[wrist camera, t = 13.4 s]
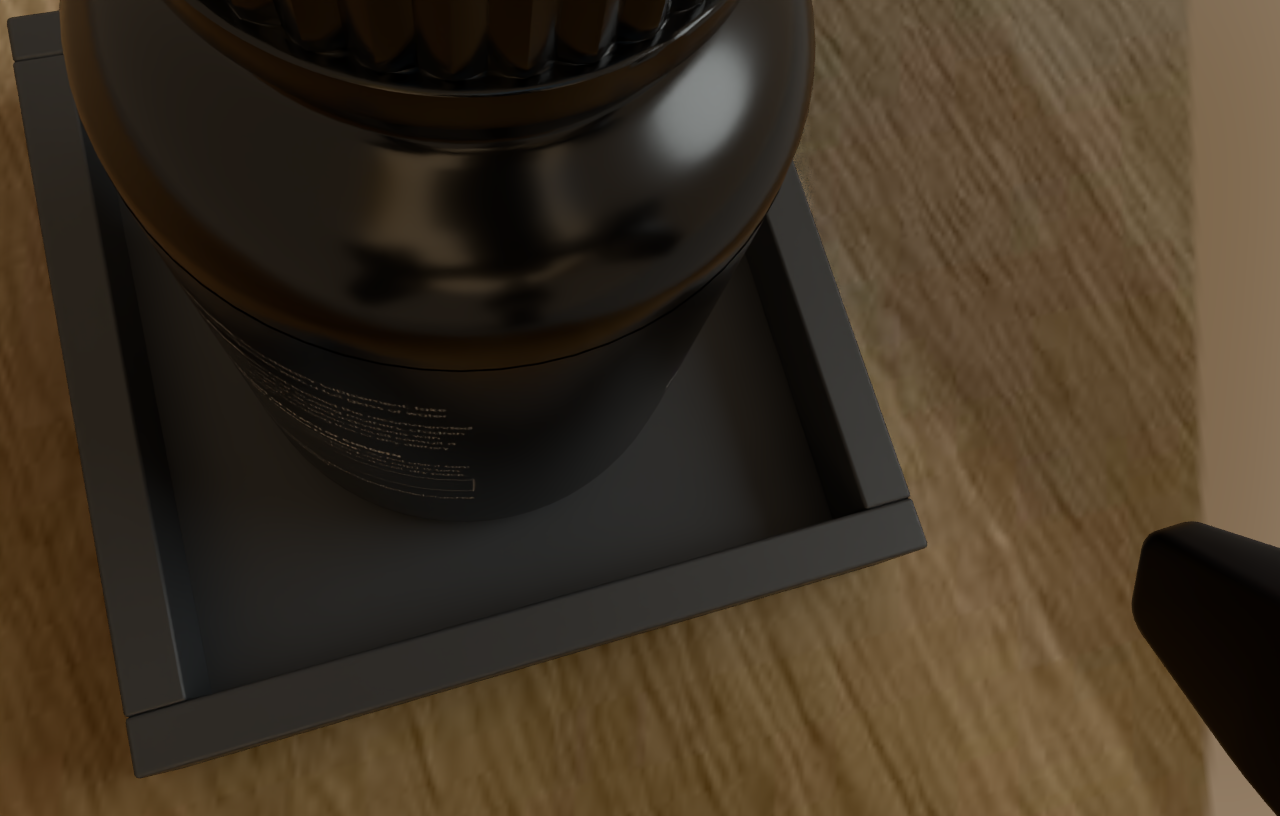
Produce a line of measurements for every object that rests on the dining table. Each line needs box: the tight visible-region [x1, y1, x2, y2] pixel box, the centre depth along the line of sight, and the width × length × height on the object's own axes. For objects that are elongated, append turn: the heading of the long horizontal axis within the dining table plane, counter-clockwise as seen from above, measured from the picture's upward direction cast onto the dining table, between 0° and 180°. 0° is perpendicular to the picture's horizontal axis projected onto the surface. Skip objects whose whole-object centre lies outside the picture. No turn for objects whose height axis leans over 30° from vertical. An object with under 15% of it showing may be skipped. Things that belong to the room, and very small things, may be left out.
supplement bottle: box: [59, 0, 815, 522], centre depth 12 cm, size 7×7×12 cm
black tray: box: [7, 11, 927, 778], centre depth 17 cm, size 12×12×2 cm
